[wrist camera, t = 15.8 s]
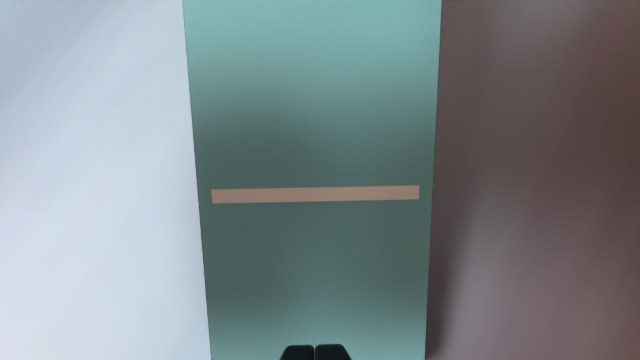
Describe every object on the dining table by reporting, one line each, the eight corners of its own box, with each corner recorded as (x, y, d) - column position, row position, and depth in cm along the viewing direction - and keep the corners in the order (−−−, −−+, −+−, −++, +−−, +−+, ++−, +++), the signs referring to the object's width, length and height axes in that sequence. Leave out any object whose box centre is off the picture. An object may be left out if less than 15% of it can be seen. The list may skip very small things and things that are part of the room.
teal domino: (421, 424, 15) (448, -119, 11) (216, 430, 15) (172, -116, 11) (407, 371, 17) (425, -104, 13) (226, 376, 17) (193, -101, 13)
